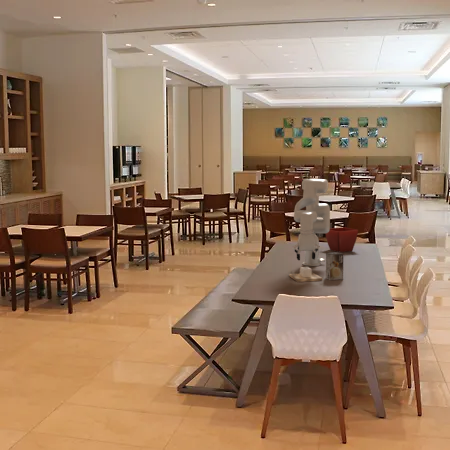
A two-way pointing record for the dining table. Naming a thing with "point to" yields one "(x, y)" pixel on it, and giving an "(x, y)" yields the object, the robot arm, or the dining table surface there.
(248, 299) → the dining table surface
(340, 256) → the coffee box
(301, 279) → the pin plate
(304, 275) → the jaw block
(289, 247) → the dining table surface
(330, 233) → the plant pot
